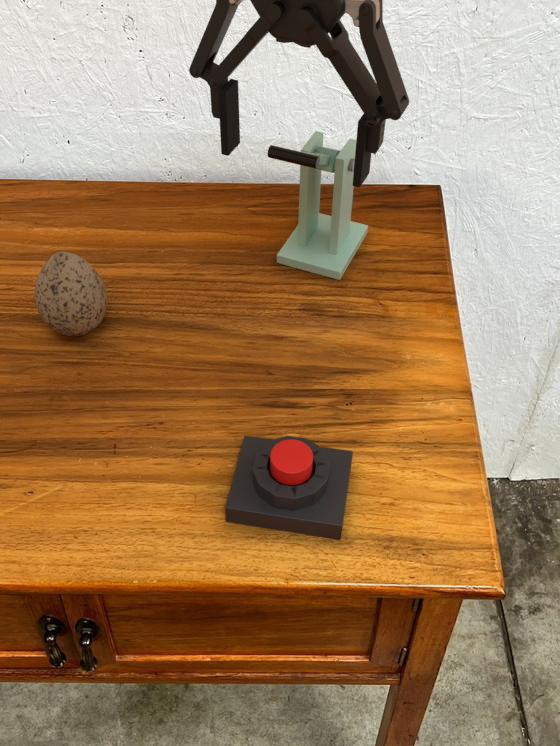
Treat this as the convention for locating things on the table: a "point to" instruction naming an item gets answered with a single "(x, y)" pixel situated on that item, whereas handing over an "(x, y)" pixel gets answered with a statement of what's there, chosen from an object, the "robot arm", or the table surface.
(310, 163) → the lever
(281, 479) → the button
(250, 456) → the control block
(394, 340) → the table surface
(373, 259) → the table surface
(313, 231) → the bracket
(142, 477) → the table surface
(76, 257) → the decorative egg
